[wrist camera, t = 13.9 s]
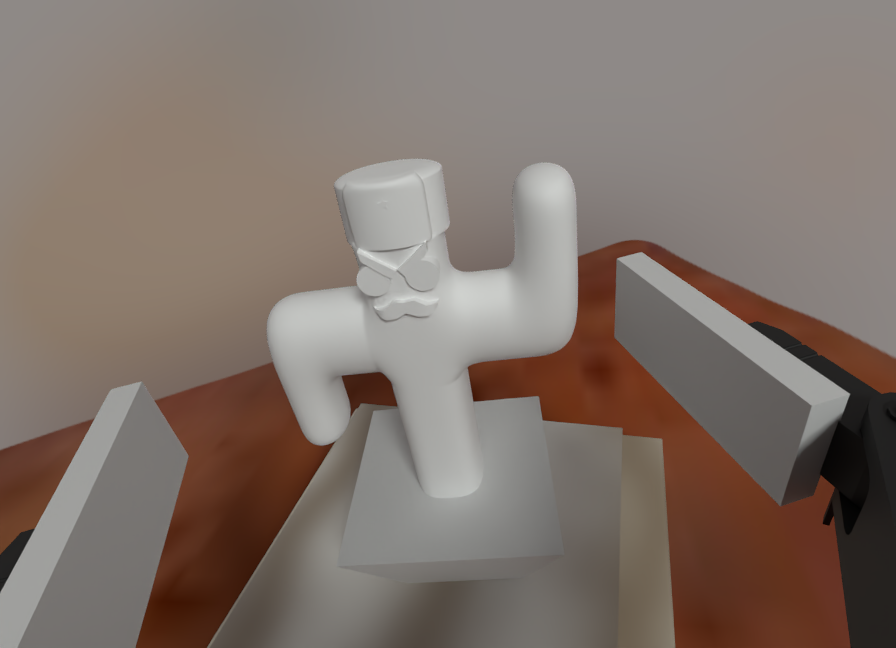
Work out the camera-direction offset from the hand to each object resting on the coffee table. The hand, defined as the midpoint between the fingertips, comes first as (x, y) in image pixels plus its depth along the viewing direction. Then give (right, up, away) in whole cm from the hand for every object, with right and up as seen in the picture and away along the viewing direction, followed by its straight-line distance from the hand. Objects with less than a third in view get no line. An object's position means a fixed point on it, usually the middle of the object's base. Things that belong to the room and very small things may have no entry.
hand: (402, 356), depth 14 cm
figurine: (+2, -8, +7) cm, 10 cm away
